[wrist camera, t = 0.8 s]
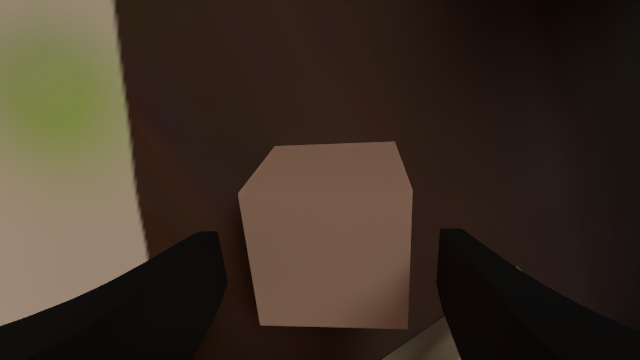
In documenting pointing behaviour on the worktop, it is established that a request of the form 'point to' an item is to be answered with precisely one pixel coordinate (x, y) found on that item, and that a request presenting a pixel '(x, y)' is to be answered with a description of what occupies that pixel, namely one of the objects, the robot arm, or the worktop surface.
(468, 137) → the worktop surface
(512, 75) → the worktop surface
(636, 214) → the worktop surface
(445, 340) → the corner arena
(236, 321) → the worktop surface
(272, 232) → the terracotta cube
